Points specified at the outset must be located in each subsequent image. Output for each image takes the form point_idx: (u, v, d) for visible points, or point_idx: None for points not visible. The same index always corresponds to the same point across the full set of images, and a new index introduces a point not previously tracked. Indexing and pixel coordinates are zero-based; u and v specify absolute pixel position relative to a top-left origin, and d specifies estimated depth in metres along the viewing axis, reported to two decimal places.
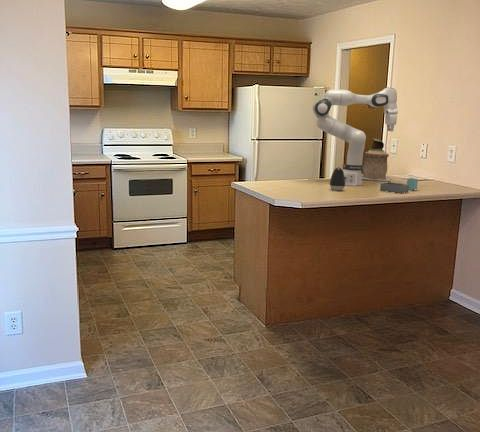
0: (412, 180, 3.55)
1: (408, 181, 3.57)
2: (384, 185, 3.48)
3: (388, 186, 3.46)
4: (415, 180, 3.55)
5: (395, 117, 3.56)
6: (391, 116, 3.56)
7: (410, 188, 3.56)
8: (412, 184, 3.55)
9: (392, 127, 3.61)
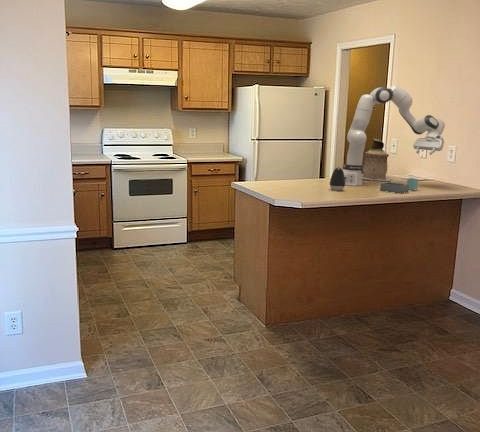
0: (412, 180, 3.55)
1: (408, 181, 3.57)
2: (384, 185, 3.48)
3: (388, 186, 3.46)
4: (415, 180, 3.55)
5: None
6: (442, 142, 3.59)
7: (410, 188, 3.56)
8: (412, 184, 3.55)
9: (433, 151, 3.59)
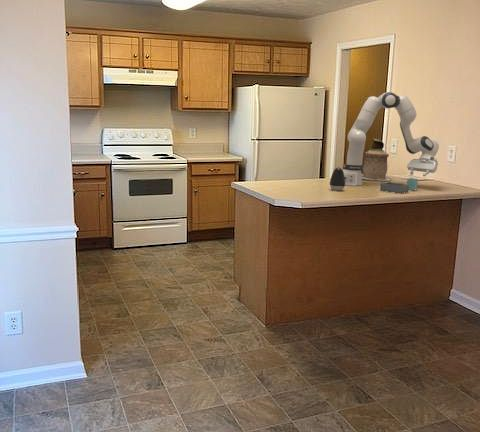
0: (412, 180, 3.55)
1: (408, 181, 3.57)
2: (384, 185, 3.48)
3: (388, 186, 3.46)
4: (415, 180, 3.55)
5: (436, 167, 3.59)
6: (436, 164, 3.58)
7: (410, 188, 3.56)
8: (412, 184, 3.55)
9: (427, 173, 3.59)
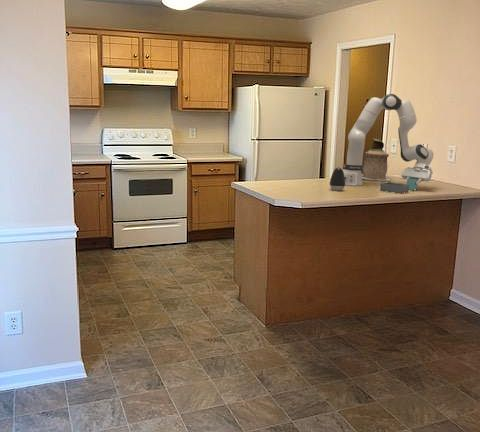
0: (412, 180, 3.55)
1: (408, 181, 3.57)
2: (384, 185, 3.48)
3: (388, 186, 3.46)
4: (415, 180, 3.55)
5: (431, 176, 3.55)
6: (430, 172, 3.54)
7: (410, 188, 3.56)
8: (412, 184, 3.55)
9: (419, 181, 3.55)
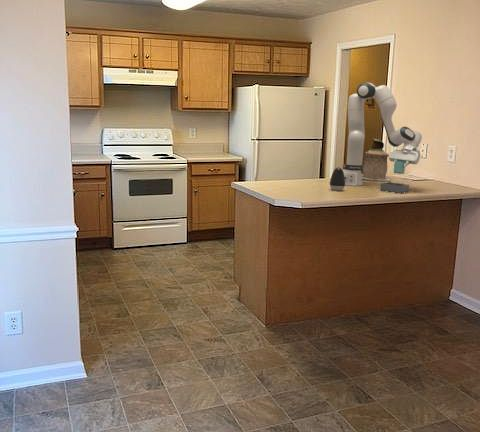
0: (400, 162, 3.45)
1: (395, 164, 3.47)
2: (384, 185, 3.48)
3: (388, 186, 3.46)
4: (403, 162, 3.46)
5: (419, 158, 3.46)
6: (418, 155, 3.44)
7: (397, 171, 3.47)
8: (399, 166, 3.45)
9: (407, 164, 3.46)
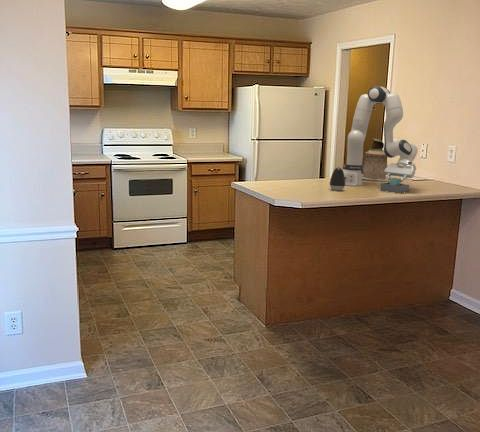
0: (395, 180, 3.45)
1: (390, 181, 3.48)
2: (384, 185, 3.48)
3: (388, 186, 3.46)
4: (398, 180, 3.46)
5: (414, 172, 3.46)
6: (413, 168, 3.44)
7: None
8: (395, 184, 3.46)
9: (405, 178, 3.45)
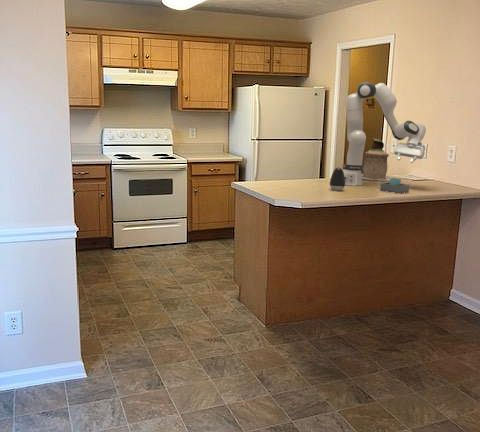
0: (395, 180, 3.45)
1: (390, 181, 3.48)
2: (384, 185, 3.48)
3: (388, 186, 3.46)
4: (398, 180, 3.46)
5: (424, 153, 3.54)
6: (423, 149, 3.52)
7: None
8: (395, 184, 3.46)
9: (415, 159, 3.53)
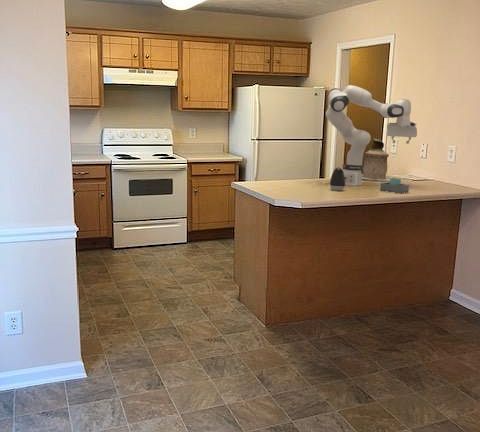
0: (395, 180, 3.45)
1: (390, 181, 3.48)
2: (384, 185, 3.48)
3: (388, 186, 3.46)
4: (398, 180, 3.46)
5: None
6: None
7: None
8: (395, 184, 3.46)
9: None
